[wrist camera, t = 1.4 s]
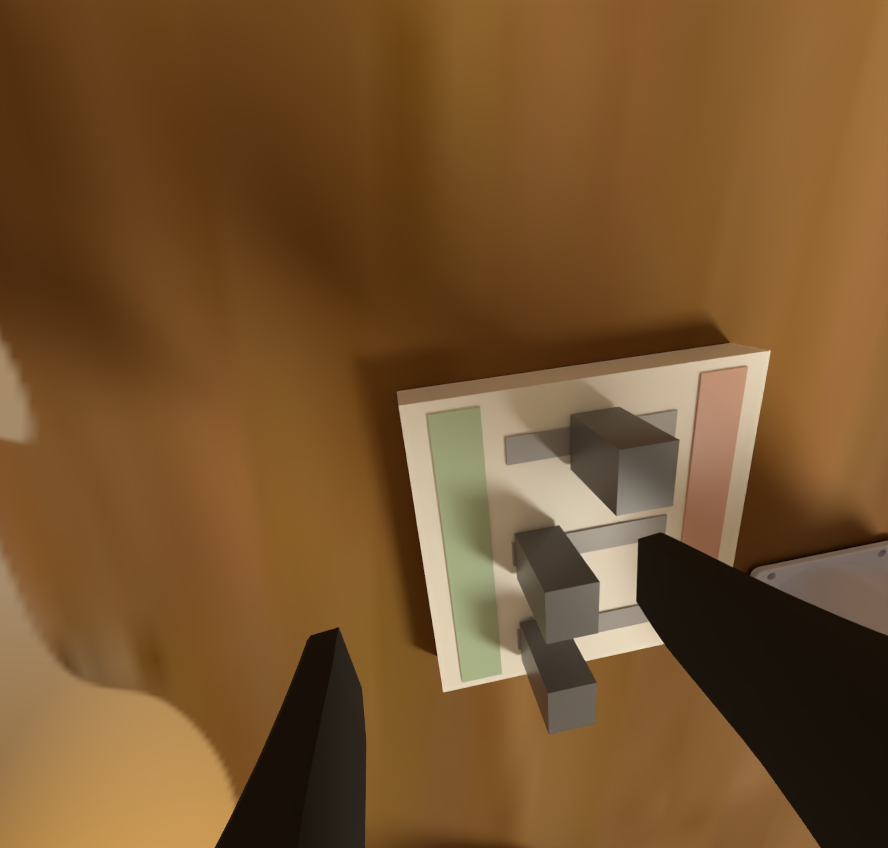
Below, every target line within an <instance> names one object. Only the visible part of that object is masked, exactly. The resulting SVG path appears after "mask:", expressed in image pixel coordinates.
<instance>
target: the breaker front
mask: <svg viewBox="0 0 888 848" xmlns="http://www.w3.org/2000/svg"><path fill="white" fill-rule="evenodd" d="M679 442H680V440H679V439H677V438H675V437H673V436H672V435H670V434H668V433H666V432H664V431H663V430H661V429H659V428H657V427H655V426H654V425H652V424H650V423H648V422H646V421H644V420H643V419H641V418H639V417H637V416H635V415H634V414H632V413H630V412H628V411H626V410H624V409H623V408H621V407H613V408H607V409H601V410H594V411H588V412H581V413H575V414H571V456H570V469H571V470H572V471H573V472H574V473H575V474H576V475H577V477H578V478H579V479H580V480H581V481H582V482H583V483H584V484H585V485H586V486H587V487H588V488H589V489H590V490H591V491H592V492H593V493H594V494H595V495H596V496H597V497H598V498H599V499H600V500H601V501H602V502H603V503H604V504H605V505H606V506H607V507H608V508H609V509H610V510H611V511H612V512H613V513H614V514H615V515H616V516H620V515H626V514H631V513H636V512H642V511H647V510H653V509H658V508H664V507H669V506H673V500H674V490H675V480H676V471H677V461H678V451H679Z"/></svg>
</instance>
